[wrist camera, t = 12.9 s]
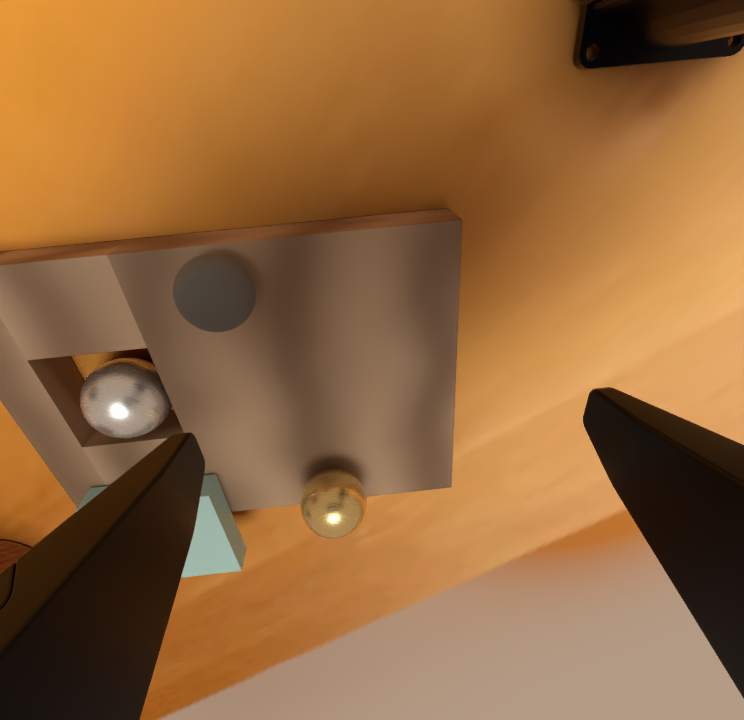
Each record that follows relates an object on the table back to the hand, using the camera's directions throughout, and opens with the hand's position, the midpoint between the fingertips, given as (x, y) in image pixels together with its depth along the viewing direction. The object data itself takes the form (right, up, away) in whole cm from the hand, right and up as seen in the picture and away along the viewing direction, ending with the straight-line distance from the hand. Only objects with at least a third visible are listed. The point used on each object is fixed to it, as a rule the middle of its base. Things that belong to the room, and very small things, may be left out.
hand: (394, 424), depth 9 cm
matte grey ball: (-7, +4, +7) cm, 10 cm away
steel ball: (-13, 0, +11) cm, 17 cm away
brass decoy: (-3, -6, +13) cm, 15 cm away
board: (-7, 0, +13) cm, 15 cm away
